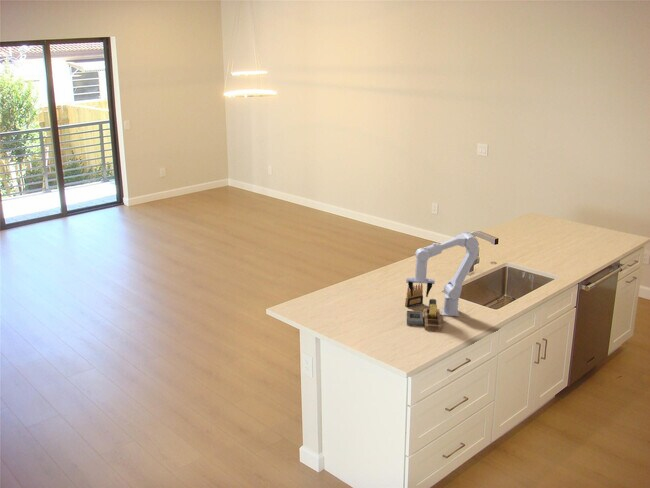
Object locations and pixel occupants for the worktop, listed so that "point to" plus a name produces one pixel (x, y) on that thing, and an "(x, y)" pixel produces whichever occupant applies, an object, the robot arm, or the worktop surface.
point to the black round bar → (431, 302)
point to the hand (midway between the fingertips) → (419, 295)
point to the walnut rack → (432, 321)
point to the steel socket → (414, 318)
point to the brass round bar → (432, 311)
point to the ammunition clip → (414, 296)
